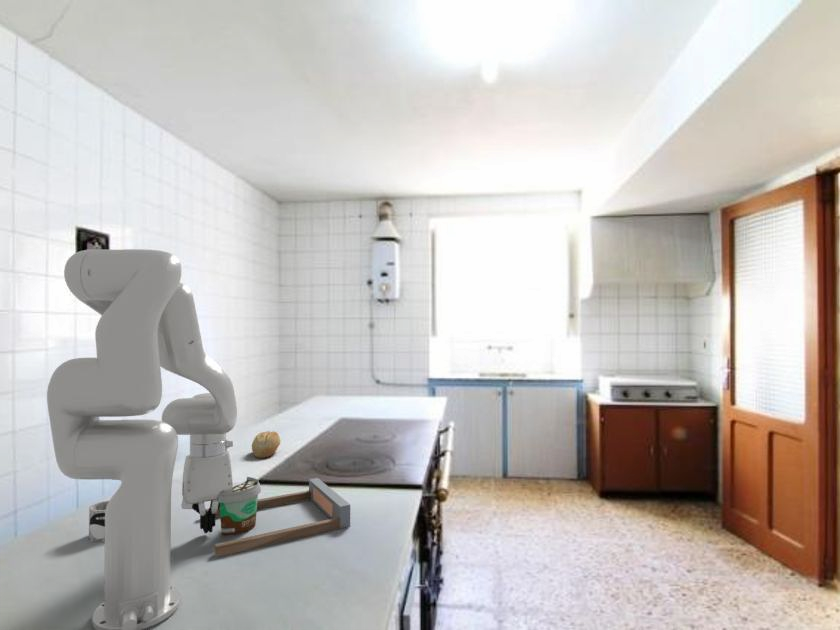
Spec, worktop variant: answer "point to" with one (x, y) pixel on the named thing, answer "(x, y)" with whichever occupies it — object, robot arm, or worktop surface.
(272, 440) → the bread roll
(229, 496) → the food container
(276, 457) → the worktop surface
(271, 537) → the guide track
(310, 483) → the end stop
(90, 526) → the mug
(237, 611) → the worktop surface
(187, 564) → the worktop surface
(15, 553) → the worktop surface
